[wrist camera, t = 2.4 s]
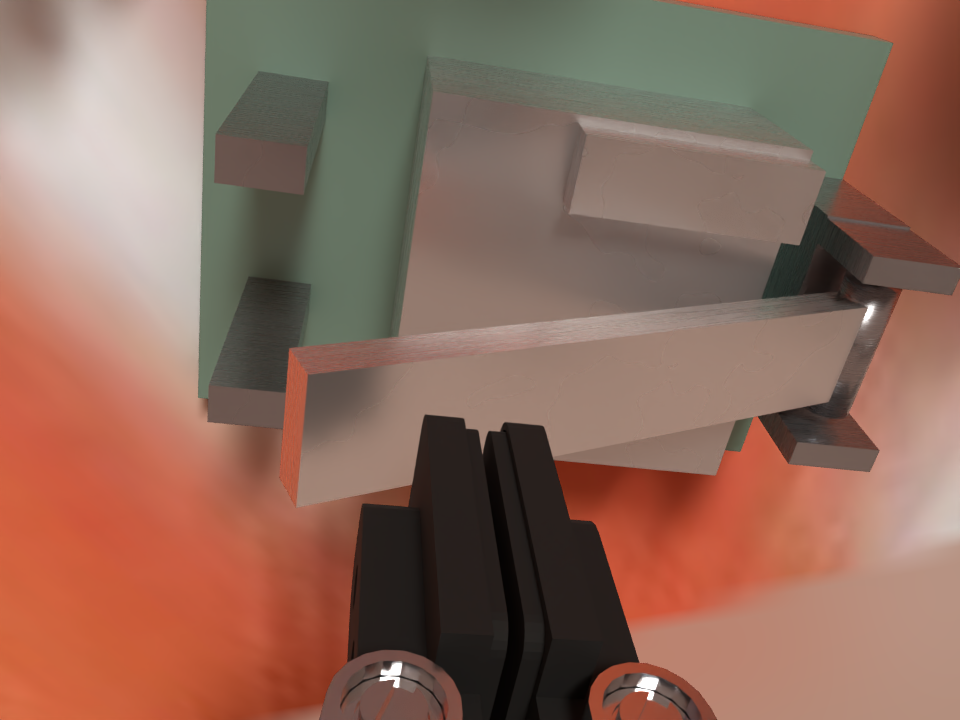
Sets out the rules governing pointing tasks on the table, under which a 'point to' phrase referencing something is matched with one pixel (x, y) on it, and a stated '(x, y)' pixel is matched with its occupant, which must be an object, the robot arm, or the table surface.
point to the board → (396, 109)
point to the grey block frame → (574, 231)
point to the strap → (572, 381)
